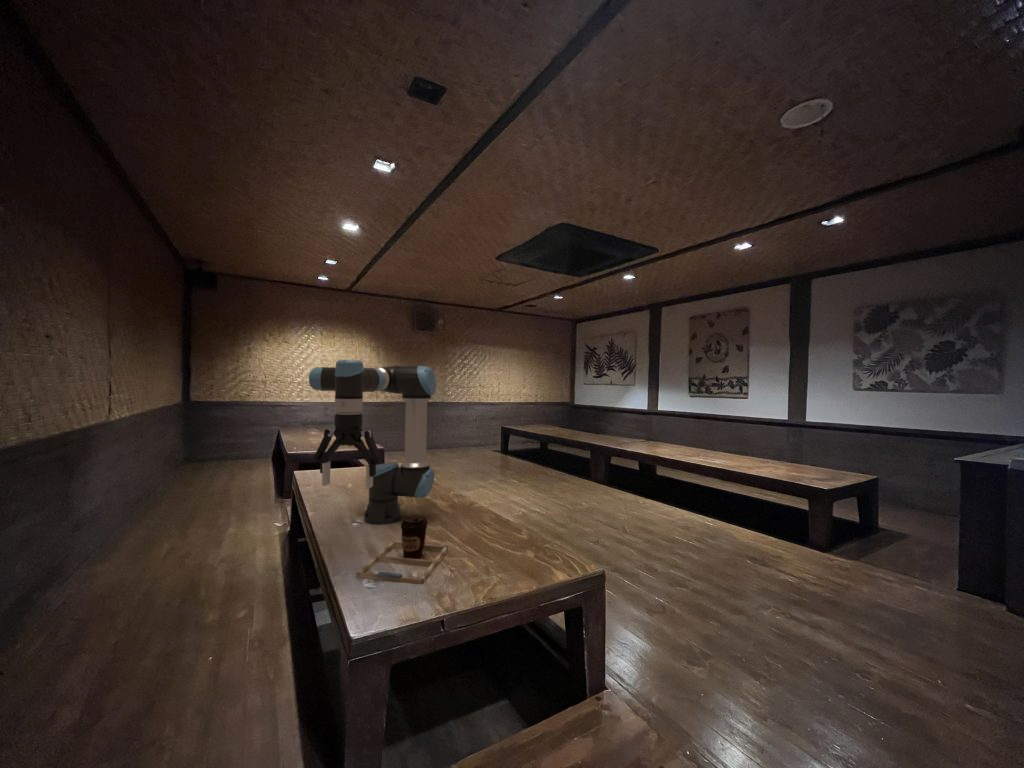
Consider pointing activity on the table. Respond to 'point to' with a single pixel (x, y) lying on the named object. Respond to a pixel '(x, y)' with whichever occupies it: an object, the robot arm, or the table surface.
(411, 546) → the coffee cup
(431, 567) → the wooden frame
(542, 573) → the table surface
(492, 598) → the table surface
